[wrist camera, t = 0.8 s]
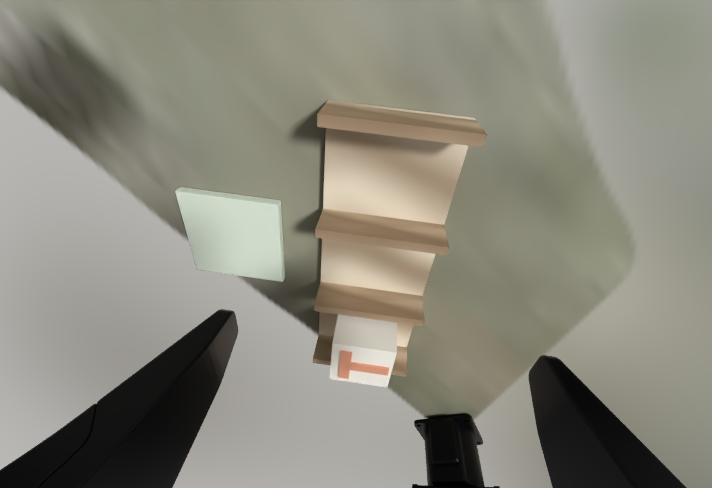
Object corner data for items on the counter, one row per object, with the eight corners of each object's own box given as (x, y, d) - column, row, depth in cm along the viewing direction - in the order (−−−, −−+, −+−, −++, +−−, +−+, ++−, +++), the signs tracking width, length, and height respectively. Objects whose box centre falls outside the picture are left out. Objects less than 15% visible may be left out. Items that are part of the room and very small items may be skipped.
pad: (285, 276, 26) (282, 281, 25) (200, 264, 26) (196, 269, 25) (280, 200, 21) (277, 204, 21) (180, 187, 22) (175, 191, 21)
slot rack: (405, 346, 29) (405, 376, 27) (319, 334, 29) (312, 362, 27) (474, 117, 17) (486, 134, 15) (328, 99, 17) (317, 113, 15)
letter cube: (388, 339, 28) (387, 389, 24) (338, 332, 28) (329, 380, 24) (396, 304, 25) (397, 354, 22) (341, 296, 26) (332, 345, 22)
